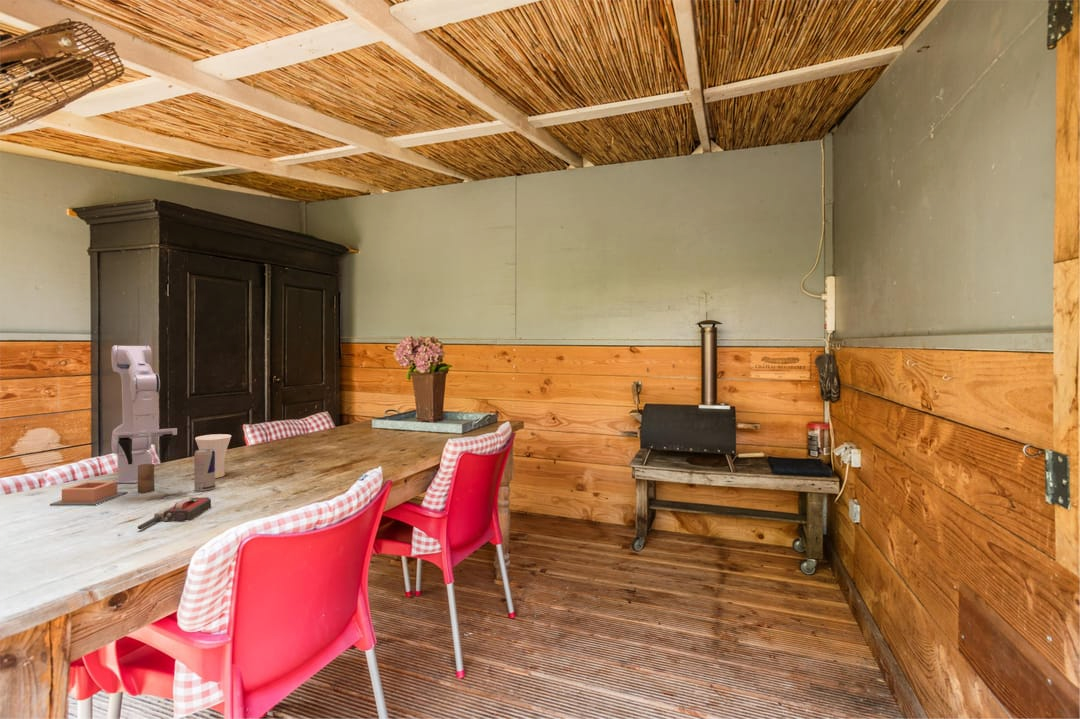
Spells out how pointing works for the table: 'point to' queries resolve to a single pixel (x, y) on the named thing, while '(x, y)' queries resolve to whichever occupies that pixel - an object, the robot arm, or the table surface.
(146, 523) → the walkie-talkie
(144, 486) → the walnut peg
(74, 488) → the socket
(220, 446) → the cup
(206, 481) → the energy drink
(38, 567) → the table surface
